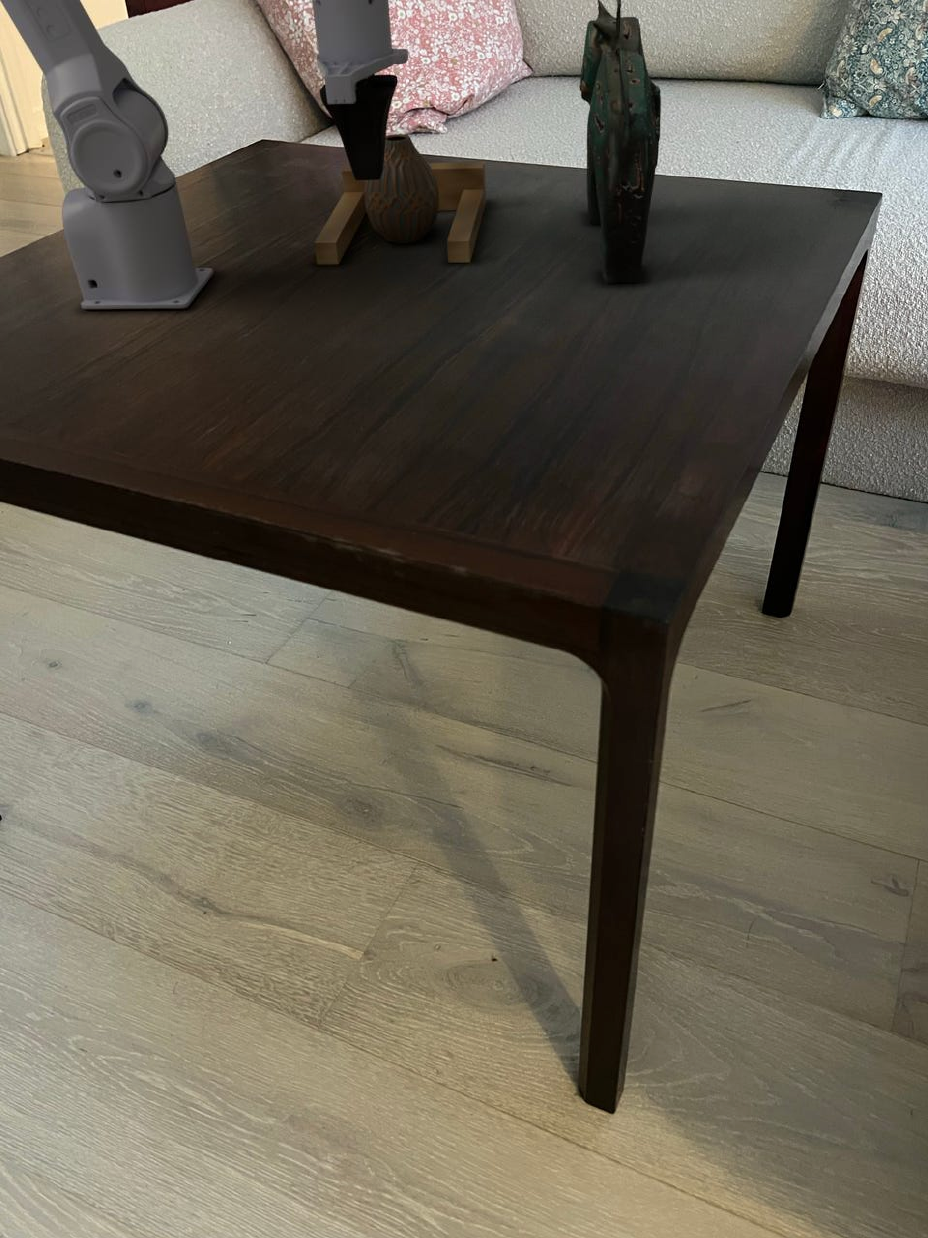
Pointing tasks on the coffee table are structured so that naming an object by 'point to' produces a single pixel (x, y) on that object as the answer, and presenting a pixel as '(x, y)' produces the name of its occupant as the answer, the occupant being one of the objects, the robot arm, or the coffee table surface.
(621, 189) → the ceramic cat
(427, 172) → the vase
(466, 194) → the rack
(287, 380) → the coffee table surface
